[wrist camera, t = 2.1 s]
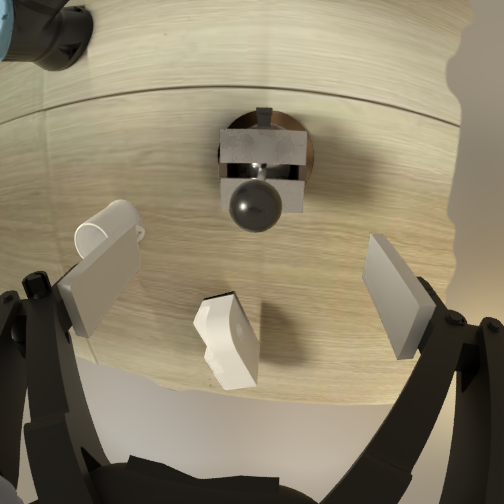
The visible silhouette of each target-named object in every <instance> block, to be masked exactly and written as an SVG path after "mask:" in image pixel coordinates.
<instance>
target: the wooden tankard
mask: <svg viewBox="0 0 504 504" xmlns="http://www.w3.org/2000/svg"><path fill="white" fill-rule="evenodd" d="M256 115H258V124H255V125H252V126H249V127H247V128H246V129H220V157H219V180H220V183H221V210H229V202H230V198H231V195H232V193H233V192H234V190H235V189H236V188H237V187H238V186H239V185H241V184H242V183H244V182H247V181H250V180H256V178H242V177H240V176H239V174H238V170H237V163H267V164H290V173H289V176H288V178H287V179H276V178H266V182H267V183H269V184H271V185H272V186H273V187H274V188H275V189H276V190H277V191H278V193H279V195H280V197H281V200H282V212H291V213H303V199H304V186H305V185H306V180H307V163H308V161H307V159H306V148H307V131H292V130H286V129H285V128H283V127H281V126H279V125H276V124H272V123H271V116H273V108H256Z"/></svg>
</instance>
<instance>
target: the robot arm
mask: <svg viewBox="0 0 504 504" xmlns="http://www.w3.org/2000/svg"><path fill="white" fill-rule="evenodd" d="M68 1H69V0H0V62H33V63H35V64H36V65H38V66H40V67H42V68H43V69H45V70H47V71H61V70H64V69H66V68H68V67H69V66H71V65H72V64H73V63H75V62H76V61H77V60H78V59H79V57H80V56H81V55H82V54H83V52H84V51H85V49H86V47H87V45H88V43H89V41H90V38H91V35H92V31H93V19H92V16H91V14H90V13H89V11H87V10H86V9H84V8H81V7H78V6H70V7H64V6H65V4H66V3H67V2H68ZM141 267H142V263H141V258H140V252H139V246H138V239H137V233H136V226H135V224H123V225H122V226H121V227H120V228H119V229H117V230H116V231H115V232H114V233H113V234H111V235H110V236H109V237H108V238H107V239H106V240H104V241H103V242H102V243H101V244H100V245H99V246H98V247H96V248H95V249H94V250H93V251H92V252H91V253H90V254H89V255H87V256H86V257H85V258H84V259H83V260H82V261H81V262H80V263H78V264H76V265H74V266H73V267H72V268H71V269H70V270H69V271H68V272H67V273H66V274H65V275H64V276H62V277H61V278H60V279H59V280H58V281H57V282H56V283H55V284H54V285H53V286H52V287H51V285H50V282H49V279H48V276H47V273H46V272H44V271H37V272H34V273H31V274H29V275H28V276H26V277H25V278H24V279H23V281H22V284H23V287H24V290H25V292H26V295H27V297H28V299H22V300H20V298H19V295H18V293H17V291H14V290H13V291H6V292H4V293H3V294H2V295H1V296H0V504H23V501H22V499H21V498H20V497H18V496H17V492H16V489H17V484H18V477H19V462H20V441H21V429H22V419H23V411H24V403H25V396H26V390H27V388H28V399H29V409H30V417H31V422H30V423H26V424H25V425H24V437H25V444H26V449H27V455H28V460H29V464H30V469H31V473H32V477H33V481H34V485H35V489H36V492H37V496H38V500H36V501H34V502H31V503H29V504H318V503H317V502H316V501H314V500H313V499H312V498H310V497H309V496H307V495H305V494H303V493H301V492H299V491H297V490H295V489H292V488H289V487H286V486H282V485H279V477H253V476H233V477H223V478H212V479H198V478H195V477H192V476H190V475H187V474H185V473H183V472H180V471H178V470H176V469H174V468H172V467H169V466H167V465H165V464H163V463H158V462H154V461H150V460H146V459H142V458H138V457H135V456H132V455H130V457H129V460H128V462H127V463H115V464H111V463H110V462H109V460H108V459H107V457H106V455H105V453H104V451H103V448H102V446H101V444H100V441H99V438H98V435H97V433H96V430H95V427H94V424H93V421H92V418H91V415H90V412H89V409H88V405H87V402H86V399H85V395H84V391H83V388H82V384H81V381H80V376H79V372H78V368H77V364H76V359H75V355H74V350H73V345H72V340H71V336H70V333H69V331H68V330H69V329H70V328H71V326H73V328H74V331H75V333H76V335H77V336H81V337H86V338H90V336H91V335H92V334H93V332H94V331H95V329H96V328H97V326H98V325H99V324H100V322H101V321H102V319H103V318H104V317H105V315H106V314H107V312H108V311H109V310H110V308H111V307H112V305H113V304H114V303H115V301H116V300H117V299H118V297H119V296H120V295H121V293H122V292H123V291H124V289H125V288H126V287H127V285H128V284H129V283H130V281H131V280H132V279H133V277H134V276H135V275H136V274H137V272H138V271H139V270H140V268H141ZM362 278H363V280H364V282H365V284H366V287H367V289H368V291H369V293H370V295H371V298H372V300H373V302H374V304H375V307H376V309H377V311H378V314H379V316H380V318H381V321H382V323H383V325H384V328H385V330H386V333H387V335H388V338H389V340H390V343H391V345H392V348H393V350H394V353H395V355H396V358H397V360H402V359H413V357H414V355H415V353H416V351H417V349H419V351H420V353H421V356H420V358H419V360H418V362H417V364H416V366H415V367H414V369H413V371H412V374H411V375H410V377H409V379H408V381H407V383H406V385H405V386H404V388H403V390H402V392H401V394H400V395H399V397H398V399H397V400H396V402H395V404H394V406H393V407H392V409H391V410H390V412H389V414H388V415H387V417H386V418H385V420H384V421H383V423H382V425H381V426H380V428H379V429H378V431H377V432H376V434H375V435H374V437H373V438H372V439H371V441H370V442H369V444H368V445H367V446H366V448H365V449H364V451H363V452H362V453H361V455H360V456H359V457H358V459H357V460H356V461H355V462H354V464H353V465H352V466H351V468H350V469H349V470H348V471H347V473H346V474H345V475H344V476H343V478H342V479H341V480H340V481H339V482H338V483H337V484H336V486H335V487H334V488H333V489H332V490H331V491H330V492H329V494H328V495H327V496H326V497H325V498H324V499H323V500H322V501H321V502H320V503H319V504H398V502H399V501H400V499H401V497H402V496H403V494H404V493H405V491H406V489H407V487H408V486H409V484H410V482H411V480H412V475H411V471H412V469H413V467H414V465H415V463H416V461H417V460H418V458H419V456H420V454H421V452H422V450H423V448H424V446H425V444H426V442H427V440H428V438H429V436H430V433H431V431H432V429H433V427H434V424H435V422H436V420H437V417H438V415H439V413H440V410H441V408H442V405H443V403H444V400H445V398H446V395H447V392H448V389H449V387H450V384H451V381H452V378H453V375H454V372H455V371H457V374H456V402H455V403H456V404H455V417H454V427H453V435H452V442H451V449H450V456H449V461H448V467H447V472H446V477H445V482H444V486H443V490H442V494H441V498H440V502H439V504H504V326H503V325H502V324H501V322H500V321H499V320H497V319H494V318H492V317H486V318H483V320H482V321H481V323H480V325H479V326H475V325H470V324H467V321H466V319H465V317H464V316H462V315H461V314H460V313H458V312H456V311H453V310H448V309H447V308H446V306H445V305H444V304H443V302H442V301H441V299H440V298H439V297H438V295H436V292H435V291H434V290H433V288H432V287H431V286H430V284H429V283H428V282H427V281H426V280H424V279H423V278H422V277H416V276H415V275H414V273H413V272H412V270H411V269H410V268H409V266H408V265H407V264H406V262H405V261H404V260H403V258H402V257H401V256H400V255H399V253H398V252H397V251H396V249H395V248H394V247H393V246H392V244H391V243H390V242H389V241H388V239H387V238H386V237H385V236H384V234H375V233H371V235H370V240H369V246H368V251H367V256H366V261H365V266H364V271H363V275H362ZM12 337H13V339H12Z"/></svg>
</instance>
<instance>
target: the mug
mask: <svg viewBox="0 0 504 504" xmlns="http://www.w3.org/2000/svg"><path fill="white" fill-rule="evenodd" d="M123 224H135V226H136V233H137V235H138V233H139V231H140V232H142V234H141V235H140V236H138V237H137V239H138V241H140V240H141V239H143V237H144V236H145V230H144V229H143V228H142V227H141V217H140V214H139V212H138V210H137V209H136V207H135V206H134V205H133V204H131V203H130V202H128V201H125V200H116V201H113V202H112V203H111V204H109V206H108V207H106V208H105V209H103V210H102V211H100V212H99V213H98V214H96V215H95V216H93V217H92V218H90V219H89V220H87V221H86V222H85V223H83V224H82V225H80V226H79V227H78V229H77V230H76V233H75V245H76V248H77V251H78V253H79V254H80V256H81V257H82V258H83V259H84V258H85V257H86V256H87V255H89V254H90V253H91V252H92V251H93V250H94V249H95V248H96V247H98V246H99V245H100V244H101V243H102V242H103V241H104V240H106V239H107V238H108V237H109V236H110V235H111V234H113V233H114V232H115V231H116V230H117V229H119V228H120V227H121V226H122V225H123Z"/></svg>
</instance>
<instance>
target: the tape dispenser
mask: <svg viewBox="0 0 504 504" xmlns="http://www.w3.org/2000/svg"><path fill="white" fill-rule="evenodd" d="M193 324H194V326H195V327H196V329H197V331H198V332H199V334H200V335H201V337H202V339H203V340H204V342H205V344H206V345H207V349H206V353H205V356H204V358H205V360H206V361H207V363H208V364H209V366H210V367H211V369H212V370H213V372H214V375H215V377H216V378H217V380H218V381H219V382H220V384H221V385H222V387H223V388H224V390H231V389H239V388H246V387H252V386H257V377H258V365H259V352H260V343H259V341H258V339H257V337H256V335H255V333H254V331H253V329H252V327H251V325H250V322H249V320H248V318H247V316H246V314H245V312H244V310H243V308H242V306H241V303H240V301H239V299H238V297H237V295H236V293H235V291H231V292H227V293H224V294H220V295H216V296H212V297H208V298H204V299H203V301H202V303H201V306H200V308H199V310H198V312H197V314H196V317H195V320H194V323H193Z"/></svg>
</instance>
